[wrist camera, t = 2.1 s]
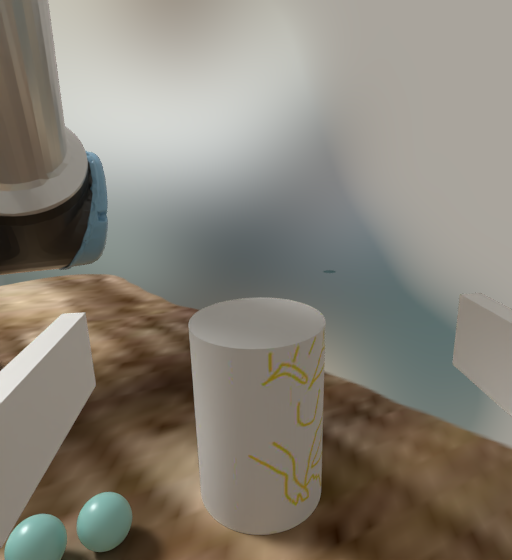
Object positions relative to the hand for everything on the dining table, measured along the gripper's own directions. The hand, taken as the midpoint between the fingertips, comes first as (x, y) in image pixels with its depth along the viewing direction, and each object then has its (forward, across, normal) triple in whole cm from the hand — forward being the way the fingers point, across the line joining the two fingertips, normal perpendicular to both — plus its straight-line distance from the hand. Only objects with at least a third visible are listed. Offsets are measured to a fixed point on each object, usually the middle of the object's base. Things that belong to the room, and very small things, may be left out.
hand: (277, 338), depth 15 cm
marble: (+7, -9, -15) cm, 19 cm away
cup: (+10, 0, -15) cm, 18 cm away
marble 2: (+5, -13, -15) cm, 20 cm away
